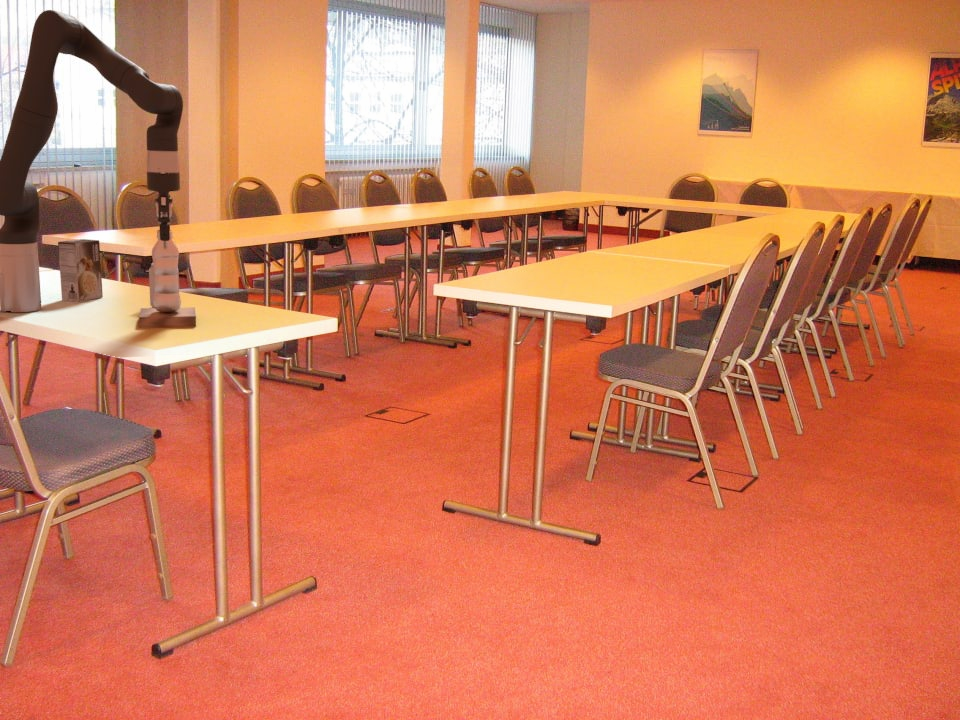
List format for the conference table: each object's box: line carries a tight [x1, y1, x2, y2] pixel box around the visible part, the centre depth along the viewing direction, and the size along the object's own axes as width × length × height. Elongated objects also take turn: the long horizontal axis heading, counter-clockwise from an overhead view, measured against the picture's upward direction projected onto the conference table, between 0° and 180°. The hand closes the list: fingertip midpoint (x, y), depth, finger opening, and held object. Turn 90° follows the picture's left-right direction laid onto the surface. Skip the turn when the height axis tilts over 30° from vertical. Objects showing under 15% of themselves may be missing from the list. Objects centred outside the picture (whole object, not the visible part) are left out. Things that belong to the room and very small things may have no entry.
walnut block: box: [138, 307, 197, 328], centre depth 245 cm, size 13×13×2 cm
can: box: [148, 262, 180, 308], centre depth 264 cm, size 8×8×12 cm
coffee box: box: [57, 238, 104, 303], centre depth 273 cm, size 9×6×16 cm
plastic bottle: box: [151, 229, 182, 313], centre depth 242 cm, size 6×7×20 cm
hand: (165, 238), depth 241 cm, fingers open, 8 cm apart
